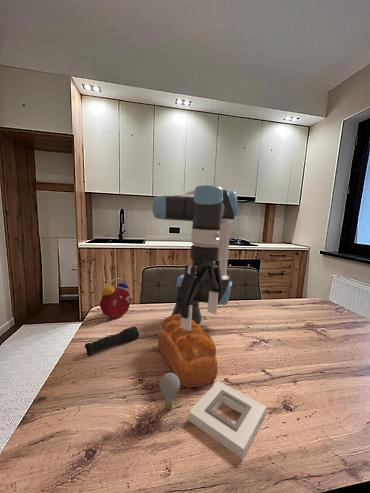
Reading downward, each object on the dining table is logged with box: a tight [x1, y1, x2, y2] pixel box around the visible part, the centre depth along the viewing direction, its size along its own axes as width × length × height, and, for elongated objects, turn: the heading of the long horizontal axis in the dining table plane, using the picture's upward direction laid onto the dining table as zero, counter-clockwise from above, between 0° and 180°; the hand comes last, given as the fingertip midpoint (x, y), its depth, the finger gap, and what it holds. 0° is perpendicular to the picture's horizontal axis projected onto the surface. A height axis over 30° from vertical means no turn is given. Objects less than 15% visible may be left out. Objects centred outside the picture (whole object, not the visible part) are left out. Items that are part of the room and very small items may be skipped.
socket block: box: [188, 380, 267, 460], centre depth 62 cm, size 15×15×3 cm
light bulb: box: [159, 372, 181, 410], centre depth 63 cm, size 6×5×10 cm
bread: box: [157, 314, 219, 389], centre depth 83 cm, size 14×26×16 cm, turn 26°
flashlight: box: [84, 325, 140, 356], centre depth 92 cm, size 5×21×5 cm, turn 133°
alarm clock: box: [99, 277, 132, 320], centre depth 115 cm, size 15×9×20 cm, turn 144°
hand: (200, 320), depth 65 cm, fingers open, 13 cm apart
